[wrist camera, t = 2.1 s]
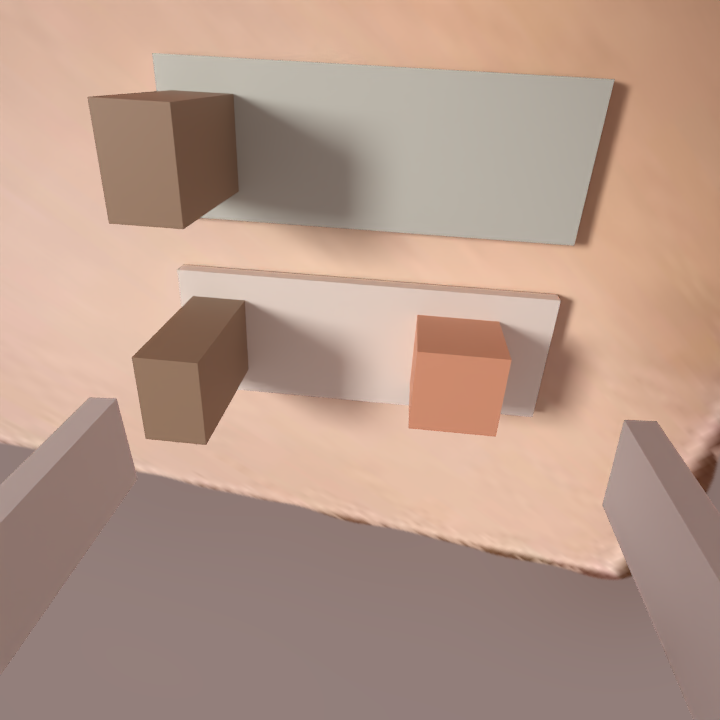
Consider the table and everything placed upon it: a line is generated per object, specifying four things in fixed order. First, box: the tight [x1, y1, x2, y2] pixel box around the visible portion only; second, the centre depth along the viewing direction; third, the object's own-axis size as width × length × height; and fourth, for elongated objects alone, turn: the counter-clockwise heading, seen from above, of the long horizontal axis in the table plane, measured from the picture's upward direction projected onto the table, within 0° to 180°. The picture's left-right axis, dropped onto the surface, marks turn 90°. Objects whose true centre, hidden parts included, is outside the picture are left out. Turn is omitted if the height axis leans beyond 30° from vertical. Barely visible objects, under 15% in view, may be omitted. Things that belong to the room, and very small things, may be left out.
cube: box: [409, 315, 512, 436], centre depth 39 cm, size 6×6×6 cm
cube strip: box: [132, 265, 561, 445], centre depth 38 cm, size 28×10×11 cm, turn 87°
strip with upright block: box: [88, 53, 615, 246], centre depth 31 cm, size 28×10×11 cm, turn 87°
